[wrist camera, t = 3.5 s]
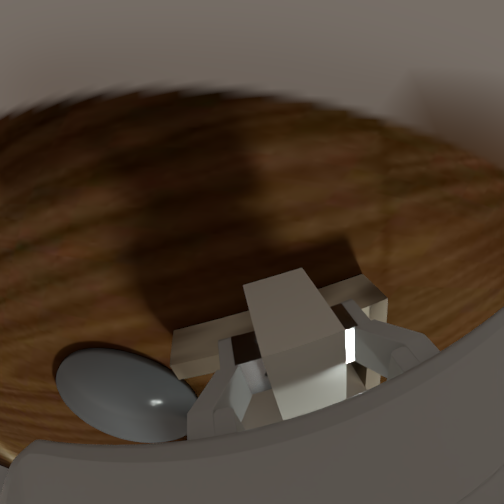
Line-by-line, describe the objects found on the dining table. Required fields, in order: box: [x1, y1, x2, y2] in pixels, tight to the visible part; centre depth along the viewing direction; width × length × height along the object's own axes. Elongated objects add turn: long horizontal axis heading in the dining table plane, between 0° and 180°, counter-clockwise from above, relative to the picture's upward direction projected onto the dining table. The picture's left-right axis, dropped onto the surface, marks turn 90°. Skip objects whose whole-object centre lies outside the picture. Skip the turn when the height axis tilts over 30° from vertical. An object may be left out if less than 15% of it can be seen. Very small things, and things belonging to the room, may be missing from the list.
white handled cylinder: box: [241, 268, 367, 430], centre depth 13 cm, size 14×8×10 cm, turn 14°
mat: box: [56, 348, 198, 443], centre depth 18 cm, size 12×12×1 cm
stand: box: [170, 274, 388, 390], centre depth 17 cm, size 12×12×3 cm
